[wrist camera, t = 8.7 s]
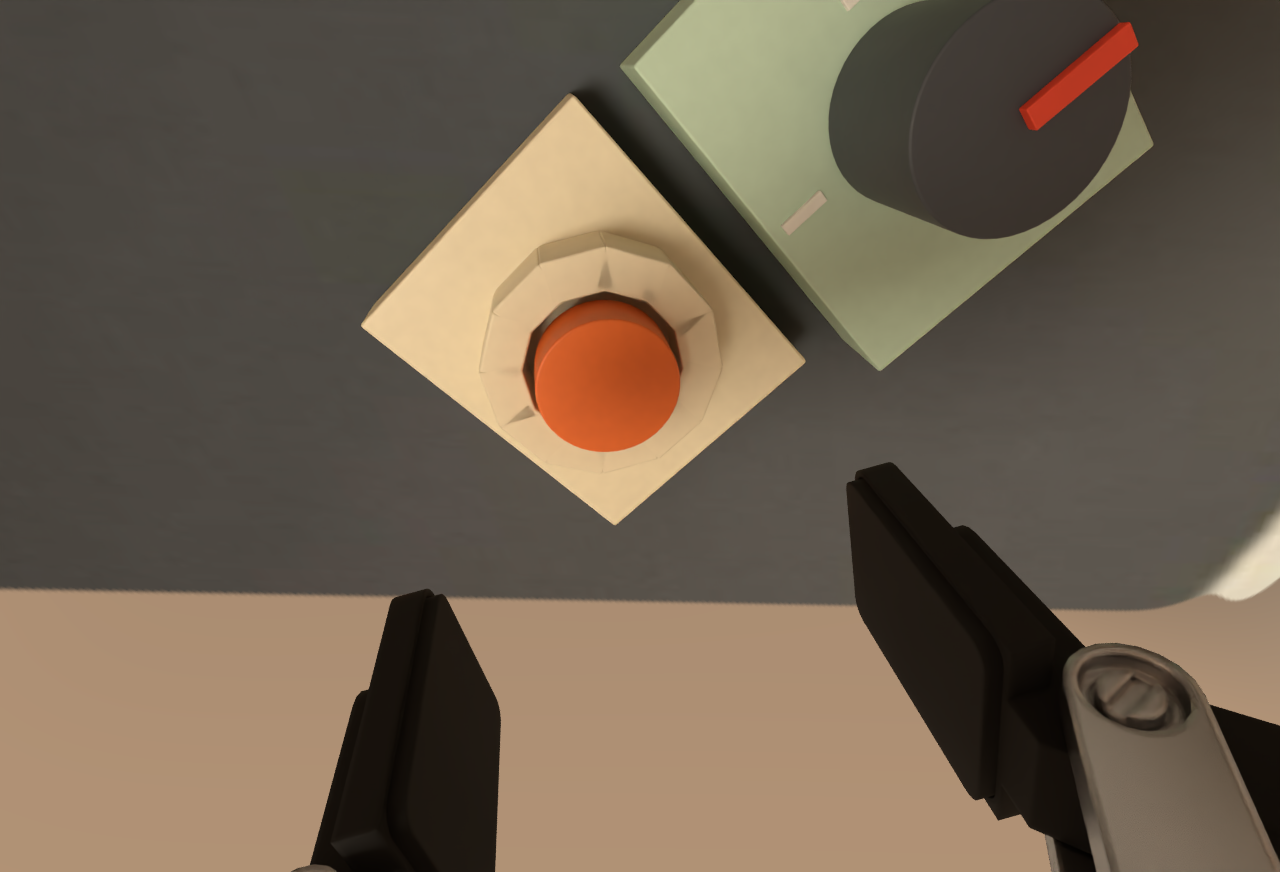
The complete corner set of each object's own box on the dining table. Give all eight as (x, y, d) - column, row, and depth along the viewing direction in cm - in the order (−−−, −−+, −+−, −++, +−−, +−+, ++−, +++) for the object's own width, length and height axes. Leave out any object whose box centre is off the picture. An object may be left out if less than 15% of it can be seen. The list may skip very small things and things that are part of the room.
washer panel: (618, 66, 20) (633, 66, 17) (901, -238, 17) (972, -295, 15) (842, 340, 25) (882, 374, 22) (1083, 135, 23) (1159, 145, 20)
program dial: (885, 241, 20) (979, 287, 16) (792, 100, 18) (872, 111, 14) (1032, 116, 19) (1175, 132, 15) (952, -50, 17) (1093, -87, 13)
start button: (505, 366, 20) (503, 392, 18) (604, 269, 19) (611, 287, 17) (601, 448, 21) (607, 477, 20) (696, 363, 20) (709, 387, 19)
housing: (372, 305, 22) (343, 351, 18) (569, 91, 20) (578, 97, 16) (609, 496, 27) (621, 561, 23) (787, 341, 25) (830, 386, 21)
